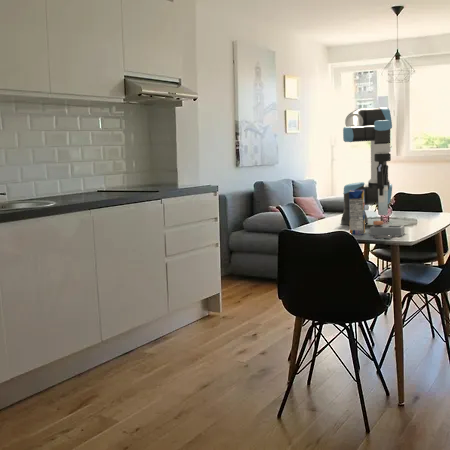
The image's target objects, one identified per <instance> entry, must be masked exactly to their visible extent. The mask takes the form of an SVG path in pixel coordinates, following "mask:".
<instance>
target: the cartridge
mask: <svg viewBox="0 0 450 450" xmlns="http://www.w3.org/2000/svg"><path fill="white" fill-rule="evenodd" d="M384 189H385V202H379V189H378V205H377V206H378V208H377V212H378V215H379V216H388V215H389V211H388V210H389V209H388V208H389V207H388V206H389V204H388V185H384Z"/></svg>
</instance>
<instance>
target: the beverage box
mask: <svg viewBox="0 0 450 450" xmlns="http://www.w3.org/2000/svg"><path fill="white" fill-rule="evenodd" d="M365 206H366V205H365V195H364V190H350V191H349V225H348V226H349V234H350V233H351V234H352V235H351V236H355V235H356V236H357V235H358V236H362V235H363V234H364V235H365V233H366V224H365V212H366V207H365ZM364 235H363V236H364Z"/></svg>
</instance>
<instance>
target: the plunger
mask: <svg viewBox="0 0 450 450" xmlns="http://www.w3.org/2000/svg"><path fill="white" fill-rule="evenodd" d="M372 223H373V225H376V227H381V225H384V221H383V220H373V222H372ZM373 225H372V226H373Z"/></svg>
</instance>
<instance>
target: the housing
mask: <svg viewBox="0 0 450 450" xmlns="http://www.w3.org/2000/svg"><path fill="white" fill-rule="evenodd" d="M404 234H405V225H398V224H394V225H393V224H383V225H381V227H376V225H372V226H370V227H369V235H370V236H376V235H390V236H393V237H402V236H403V235H404Z"/></svg>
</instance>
